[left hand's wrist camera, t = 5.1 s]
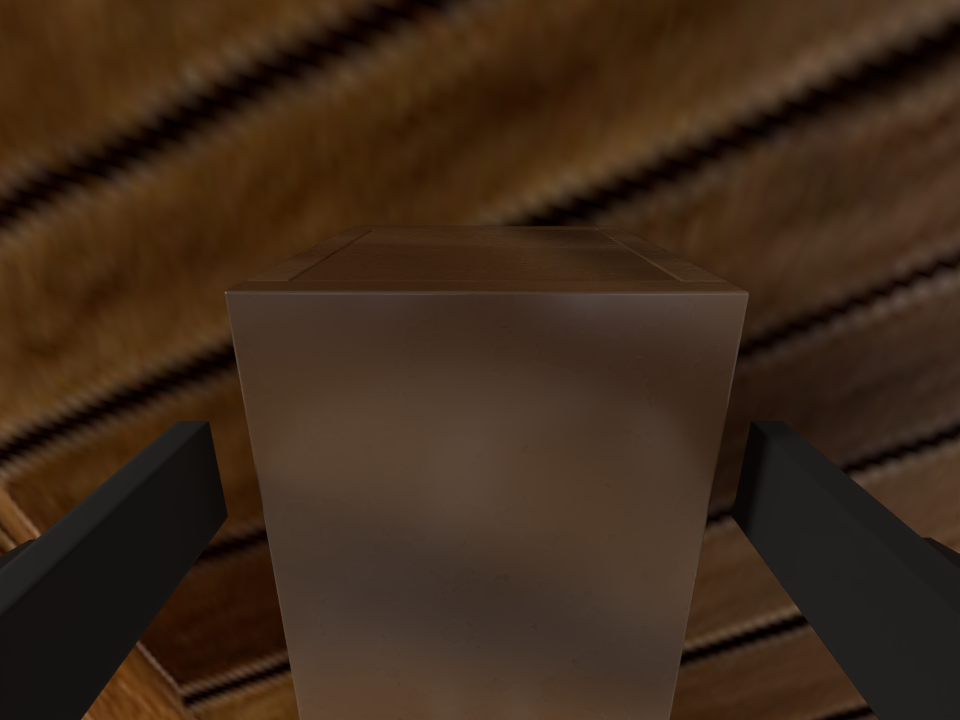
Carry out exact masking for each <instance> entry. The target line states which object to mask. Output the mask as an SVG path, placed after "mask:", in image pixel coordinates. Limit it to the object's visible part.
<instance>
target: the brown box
mask: <svg viewBox="0 0 960 720" xmlns="http://www.w3.org/2000/svg"><path fill="white" fill-rule="evenodd" d="M748 296H749V294H748V291H745V290H743V289H741V288H739V287H737V286H735V285H733V284H731V283H729V282H727V281H726V280H724V279H722V278H720V277H718V276H716V275H714V274H712V273H710V272H708V271H706V270H704V269H701V268H699V267H697V266H695V265H693V264H691V263H689V262H687V261H685V260H683V259H681V258H679V257H677V256H675V255H673V254H671V253H669V252H667V251H665V250H663V249H661V248H659V247H657V246H655V245H653V244H651V243H649V242H647V241H645V240H643V239H641V238H638V237H636V236H634V235H632V234H630V233H628V232H626V231H624V230H622V229H619V228H617V227H615V226H354V227H352V228H350V229H348V230H346V231H344V232H342V233H340V234H338V235H336V236H334V237H332V238H330V239H328V240H326V241H324V242H322V243H320V244H318V245H316V246H314V247H312V248H310V249H308V250H306V251H304V252H302V253H300V254H298V255H296V256H294V257H292V258H290V259H288V260H286V261H284V262H282V263H280V264H278V265H276V266H274V267H272V268H270V269H268V270H266V271H264V272H262V273H260V274H258V275H256V276H254V277H252V278H250V279H248V280H246V281H244V282H242V283H240V284H238V285H236V286H234V287H232V288H230V289H228V290H226V291H225V299H226V305H227V311H228V316H229V322H230V328H231V333H232V339H233V344H234V350H235V356H236V361H237V367H238V373H239V378H240V384H241V390H242V395H243V401H244V406H245V412H246V418H247V423H248V429H249V435H250V440H251V446H252V452H253V457H254V463H255V468H256V474H257V480H258V485H259V491H260V497H261V502H262V508H263V514H264V519H265V525H266V530H267V536H268V542H269V547H270V553H271V559H272V564H273V570H274V576H275V581H276V587H277V592H278V598H279V604H280V609H281V615H282V621H283V626H284V632H285V638H286V643H287V649H288V655H289V660H290V666H291V671H292V677H293V683H294V688H295V694H296V700H297V705H298V711H299V717H300V720H669V719H670V714H671V709H672V703H673V698H674V693H675V687H676V682H677V676H678V671H679V666H680V660H681V655H682V650H683V644H684V639H685V634H686V628H687V623H688V618H689V612H690V607H691V601H692V596H693V591H694V585H695V580H696V575H697V569H698V564H699V559H700V553H701V548H702V543H703V537H704V532H705V526H706V521H707V516H708V510H709V505H710V500H711V494H712V489H713V484H714V478H715V473H716V468H717V462H718V457H719V451H720V446H721V441H722V435H723V430H724V425H725V419H726V414H727V409H728V403H729V398H730V393H731V387H732V382H733V376H734V371H735V366H736V360H737V355H738V350H739V344H740V339H741V334H742V328H743V323H744V318H745V312H746V307H747V301H748Z"/></svg>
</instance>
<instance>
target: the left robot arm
mask: <svg viewBox="0 0 960 720" xmlns="http://www.w3.org/2000/svg"><path fill="white" fill-rule="evenodd" d="M227 517H228V515H227V510H226V505H225V500H224V495H223V490H222V485H221V480H220V475H219V470H218V465H217V460H216V455H215V450H214V445H213V440H212V435H211V430H210V424H209V421H177V422H176V423H175V424H174V425H172V426H171V427H170V428H169V429H168V430H166V431H165V432H164V433H163V434H162V435H160V436H159V437H158V438H157V439H156V440H154V441H153V442H152V443H151V444H150V445H148V446H147V447H146V448H145V449H144V450H143V451H141V452H140V453H139V454H138V455H137V456H135V457H134V458H133V459H132V460H131V461H129V462H128V463H127V464H126V465H125V466H123V467H122V468H121V469H120V470H119V471H117V472H116V473H115V474H114V475H113V476H111V477H110V478H109V479H108V480H107V481H105V482H104V483H103V484H102V485H101V486H100V487H98V488H97V489H96V490H95V491H94V492H92V493H91V494H90V495H89V496H88V497H86V498H85V499H84V500H83V501H82V502H80V503H79V504H78V505H77V506H76V507H74V508H73V509H72V510H71V511H70V512H68V513H67V514H66V515H65V516H64V517H62V518H61V519H60V520H59V521H58V522H57V523H55V524H54V525H53V526H52V527H51V528H49V529H48V530H47V531H46V532H45V533H43V534H42V535H41V536H40V537H39V538H37V539H36V540H29V541H27V542H25V543H23V544H21V545H20V546H18V547H16V548H14V549H12V550H11V551H9V552H7V553H5V554H3V555H2V556H0V720H81V719H82V718H83V716H84V715H85V713H86V712H87V711H88V709H89V708H90V706H91V705H92V704H93V702H94V701H95V700H96V698H97V697H98V695H99V694H100V693H101V691H102V690H103V688H104V687H105V686H106V684H107V683H108V682H109V680H110V679H111V677H112V676H113V675H114V673H115V672H116V670H117V669H118V668H119V666H120V665H121V664H122V662H123V661H124V659H125V658H126V657H127V655H128V654H129V653H130V651H131V650H132V648H133V647H134V646H135V644H136V643H137V641H138V640H139V639H140V637H141V636H142V635H143V633H144V632H145V630H146V629H147V628H148V626H149V625H150V623H151V622H152V621H153V619H154V618H155V617H156V615H157V614H158V612H159V611H160V610H161V608H162V607H163V606H164V604H165V603H166V601H167V600H168V599H169V597H170V596H171V594H172V593H173V592H174V590H175V589H176V588H177V586H178V585H179V583H180V582H181V581H182V579H183V578H184V576H185V575H186V574H187V572H188V571H189V570H190V568H191V567H192V565H193V564H194V563H195V561H196V560H197V559H198V557H199V556H200V554H201V553H202V552H203V550H204V549H205V547H206V546H207V545H208V543H209V542H210V541H211V539H212V538H213V536H214V535H215V534H216V532H217V531H218V529H219V528H220V527H221V525H222V524H223V523H224V521H225V520H226V518H227ZM732 517H733V518H734V520H735V521H736V523H737V524H738V525H739V527H740V528H741V529H742V531H743V532H744V534H745V535H746V536H747V538H748V539H749V541H750V542H751V543H752V545H753V546H754V547H755V549H756V550H757V552H758V553H759V554H760V556H761V557H762V559H763V560H764V561H765V563H766V564H767V565H768V567H769V568H770V570H771V571H772V572H773V574H774V575H775V576H776V578H777V579H778V581H779V582H780V583H781V585H782V586H783V588H784V589H785V590H786V592H787V593H788V594H789V596H790V597H791V599H792V600H793V601H794V603H795V604H796V606H797V607H798V608H799V610H800V611H801V612H802V614H803V615H804V617H805V618H806V619H807V621H808V622H809V623H810V625H811V626H812V628H813V629H814V630H815V632H816V633H817V635H818V636H819V637H820V639H821V640H822V641H823V643H824V644H825V646H826V647H827V648H828V650H829V651H830V653H831V654H832V655H833V657H834V658H835V659H836V661H837V662H838V664H839V665H840V666H841V668H842V669H843V670H844V672H845V673H846V675H847V676H848V677H849V679H850V680H851V682H852V683H853V684H854V686H855V687H856V688H857V690H858V691H859V693H860V694H861V695H862V697H863V698H864V700H865V701H866V702H867V704H868V705H869V706H870V708H871V709H872V711H873V712H874V713H875V715H876V716H877V718H878V719H879V720H960V554H959V553H957V552H955V551H953V550H952V549H950V548H948V547H946V546H944V545H943V544H941V543H939V542H937V541H935V540H933V539H932V538H921V537H920V536H919V535H918V534H917V533H915V532H914V531H913V530H912V529H911V528H909V527H908V526H907V525H906V524H905V523H903V522H902V521H901V520H900V519H899V518H898V517H896V516H895V515H894V514H893V513H892V512H890V511H889V510H888V509H887V508H886V507H884V506H883V505H882V504H881V503H880V502H878V501H877V500H876V499H875V498H874V497H872V496H871V495H870V494H869V493H868V492H866V491H865V490H864V489H863V488H862V487H860V486H859V485H858V484H857V483H856V482H855V481H853V480H852V479H851V478H850V477H849V476H847V475H846V474H845V473H844V472H843V471H841V470H840V469H839V468H838V467H837V466H835V465H834V464H833V463H832V462H831V461H829V460H828V459H827V458H826V457H825V456H823V455H822V454H821V453H820V452H819V451H817V450H816V449H815V448H814V447H813V446H812V445H810V444H809V443H808V442H807V441H806V440H804V439H803V438H802V437H801V436H800V435H798V434H797V433H796V432H795V431H794V430H792V429H791V428H790V427H789V426H788V425H786V424H785V423H784V422H783V421H751V424H750V429H749V435H748V440H747V445H746V450H745V455H744V460H743V465H742V470H741V475H740V480H739V485H738V490H737V495H736V500H735V505H734V510H733V515H732Z"/></svg>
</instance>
